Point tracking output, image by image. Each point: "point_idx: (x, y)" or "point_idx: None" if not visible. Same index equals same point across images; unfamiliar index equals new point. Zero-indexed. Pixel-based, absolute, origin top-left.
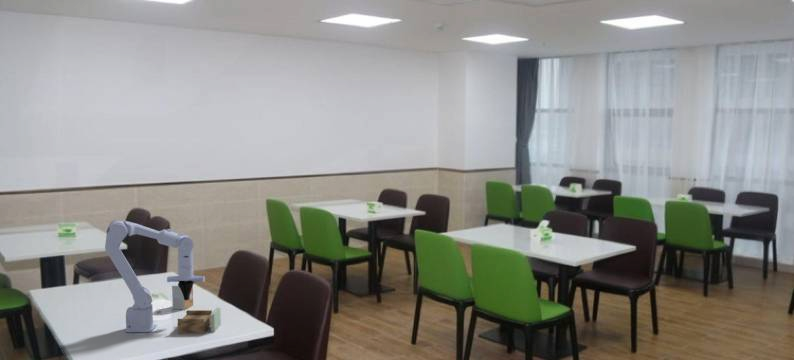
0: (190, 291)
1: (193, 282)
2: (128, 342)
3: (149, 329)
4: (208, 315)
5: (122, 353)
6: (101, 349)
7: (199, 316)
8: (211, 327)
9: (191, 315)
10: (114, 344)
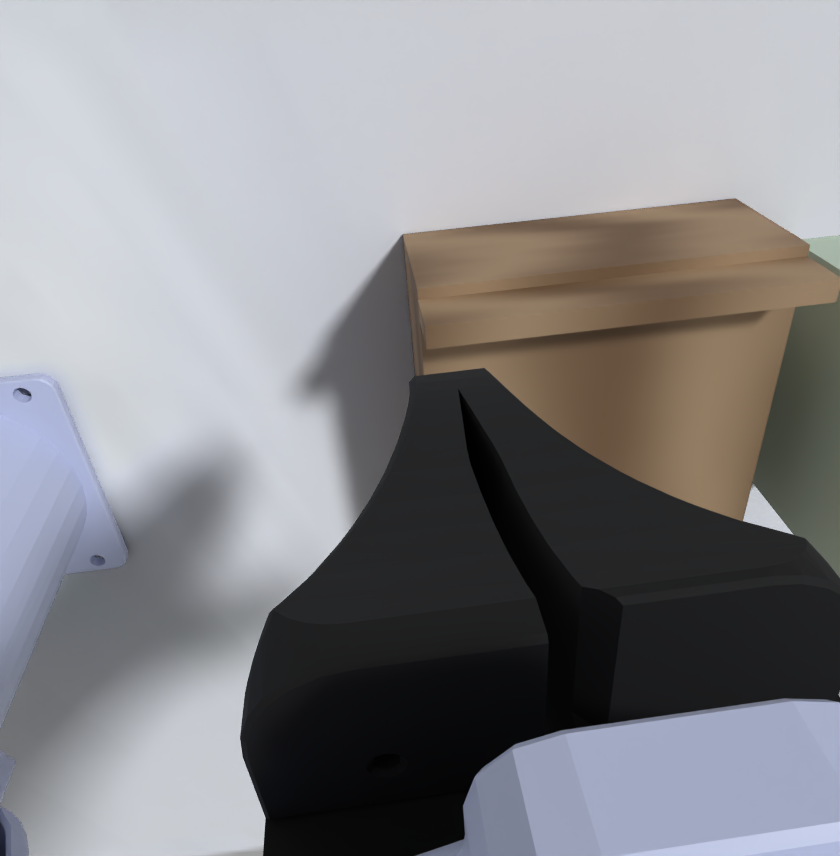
0: (564, 444)
1: (820, 691)
2: (117, 738)
3: (86, 529)
4: (758, 329)
5: (227, 852)
6: (28, 840)
7: (638, 384)
8: (773, 496)
9: (512, 357)
10: (39, 777)
